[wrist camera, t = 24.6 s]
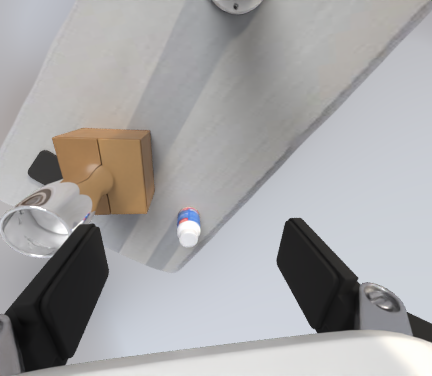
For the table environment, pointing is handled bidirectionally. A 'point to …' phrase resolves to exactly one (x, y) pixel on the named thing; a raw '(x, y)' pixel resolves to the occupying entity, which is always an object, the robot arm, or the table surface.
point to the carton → (90, 153)
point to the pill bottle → (188, 226)
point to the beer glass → (55, 211)
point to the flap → (124, 175)
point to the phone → (45, 168)
